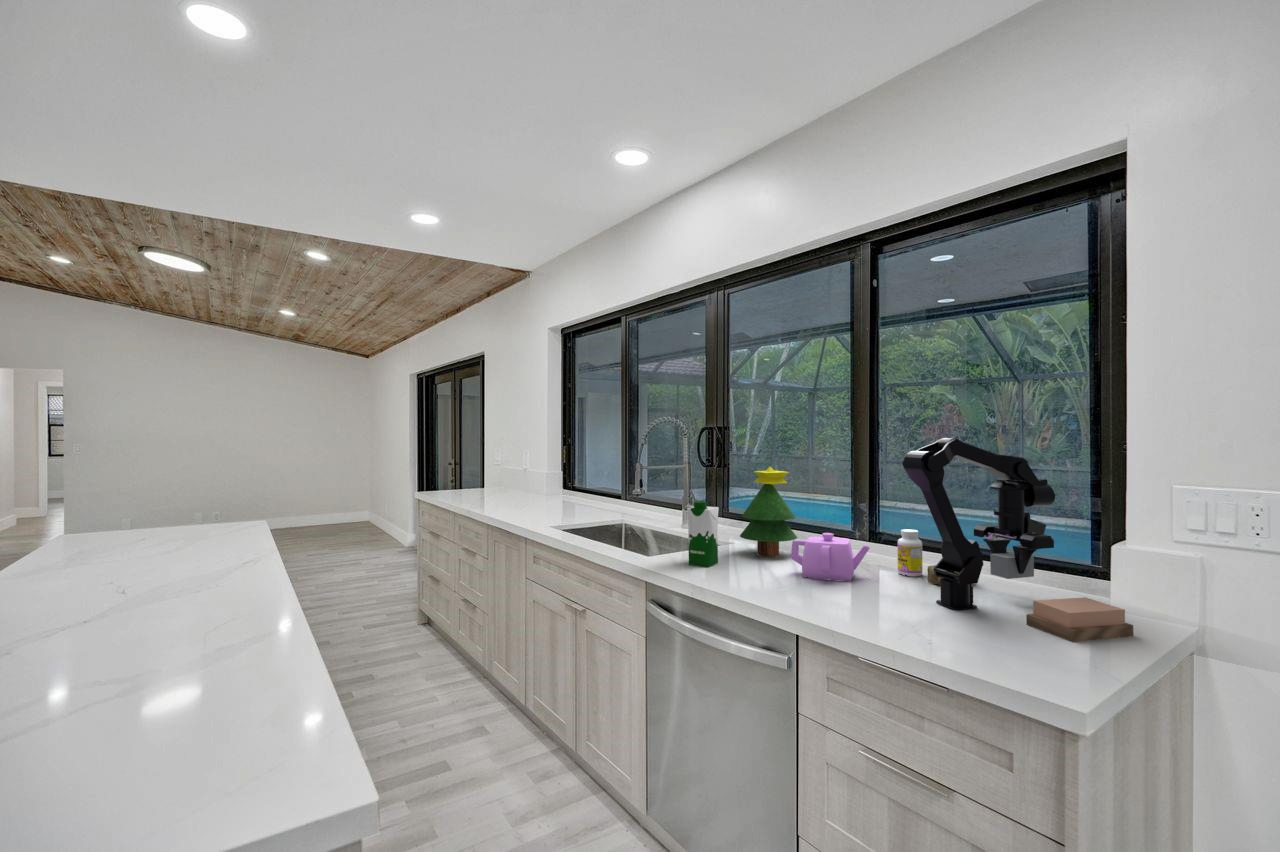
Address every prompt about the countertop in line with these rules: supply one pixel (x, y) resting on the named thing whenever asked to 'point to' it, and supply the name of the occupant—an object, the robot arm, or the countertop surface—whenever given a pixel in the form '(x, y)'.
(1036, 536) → the robot arm
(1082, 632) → the base slab
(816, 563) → the teakettle
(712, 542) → the milk carton
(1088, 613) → the top slab
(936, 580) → the stone block
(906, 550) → the supplement bottle
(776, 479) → the decorative tree
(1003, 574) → the charcoal block
